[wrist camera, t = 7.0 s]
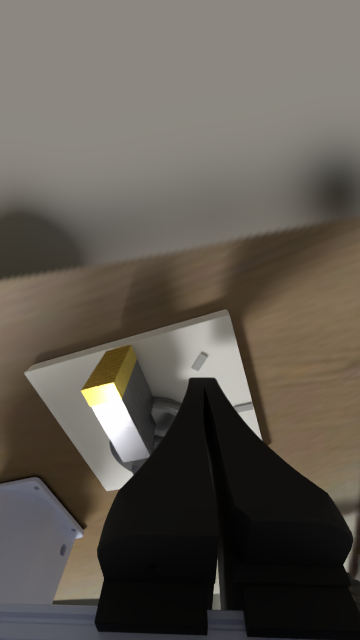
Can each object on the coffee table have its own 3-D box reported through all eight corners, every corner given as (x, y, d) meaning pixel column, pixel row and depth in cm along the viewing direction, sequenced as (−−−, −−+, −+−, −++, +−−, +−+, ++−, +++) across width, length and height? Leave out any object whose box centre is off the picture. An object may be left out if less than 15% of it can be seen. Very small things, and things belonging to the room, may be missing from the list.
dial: (208, 450, 17) (213, 506, 14) (133, 463, 18) (121, 520, 14) (166, 334, 13) (158, 371, 10) (75, 357, 14) (39, 400, 11)
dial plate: (263, 450, 19) (268, 463, 18) (110, 479, 21) (106, 493, 20) (226, 308, 14) (229, 315, 13) (33, 364, 16) (22, 374, 15)
